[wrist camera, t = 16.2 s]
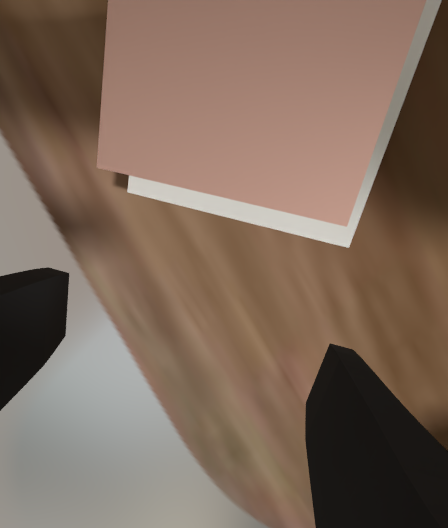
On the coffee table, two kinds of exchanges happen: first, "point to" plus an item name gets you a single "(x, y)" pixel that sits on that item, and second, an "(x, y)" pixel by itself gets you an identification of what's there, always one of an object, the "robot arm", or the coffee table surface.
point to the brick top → (253, 96)
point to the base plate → (292, 221)
